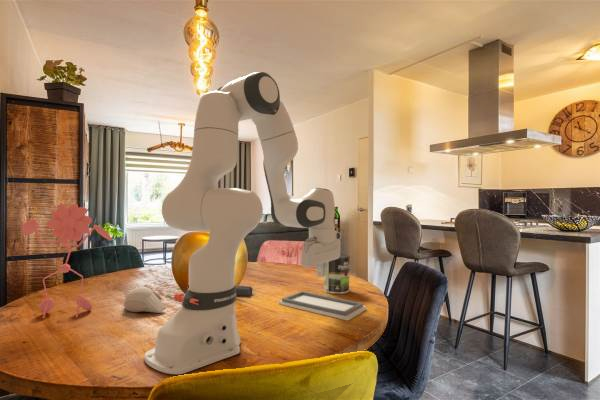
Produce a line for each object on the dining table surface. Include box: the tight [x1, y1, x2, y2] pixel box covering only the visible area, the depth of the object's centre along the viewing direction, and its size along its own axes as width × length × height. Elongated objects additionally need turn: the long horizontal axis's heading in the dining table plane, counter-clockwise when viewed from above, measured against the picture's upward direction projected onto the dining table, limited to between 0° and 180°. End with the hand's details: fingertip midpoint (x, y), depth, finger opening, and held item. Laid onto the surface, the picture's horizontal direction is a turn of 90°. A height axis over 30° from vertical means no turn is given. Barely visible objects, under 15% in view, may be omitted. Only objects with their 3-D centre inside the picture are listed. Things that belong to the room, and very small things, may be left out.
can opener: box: [236, 285, 253, 297], centre depth 128 cm, size 19×6×5 cm
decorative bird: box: [123, 286, 167, 314], centre depth 108 cm, size 9×16×8 cm, turn 58°
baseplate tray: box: [278, 290, 367, 322], centre depth 114 cm, size 13×27×2 cm, turn 54°
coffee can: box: [323, 253, 350, 295], centre depth 134 cm, size 10×10×14 cm
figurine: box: [21, 203, 112, 319], centre depth 107 cm, size 15×26×35 cm, turn 100°
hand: (321, 275), depth 114 cm, fingers closed
